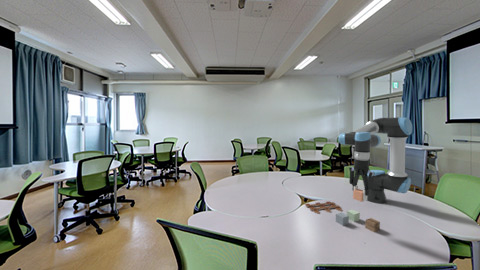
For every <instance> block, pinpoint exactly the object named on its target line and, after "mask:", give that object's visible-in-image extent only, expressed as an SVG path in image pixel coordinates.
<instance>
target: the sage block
mask: <svg viewBox="0 0 480 270" xmlns="http://www.w3.org/2000/svg"><path fill="white" fill-rule="evenodd" d="M346 215H348V216H349V220H350V221H351V222H353V223H355V222H356V223H357V222H359V221H360V220H361V219H360V216H361V213H360V212H359V211H356V210H355V209H349V210H347V211H346Z"/></svg>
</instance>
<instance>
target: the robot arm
mask: <svg viewBox="0 0 480 270" xmlns="http://www.w3.org/2000/svg"><path fill="white" fill-rule="evenodd" d="M378 134H383V135H384V134H386V137H387V138H388V139H389V170H388V171H387V172H386V171H385V170H382V169H381V170H380V169H370V163H371V162H370V157H371V155H370V154H371V148H376V147H378V146H379V145H380V144H381V143H382V140H381V137H380V136H379V135H378ZM411 134H413V124H412V121H411V119H410V118H408V117H401V116H400V117H397V116H396V117H379V118H375V119H372V120H370V121H367V122H366V123H365V125H363V126H360V127H358V128H356V129H354V130H352V131H350V132H344V133H343V132H342V133H339V136H338V138H337V139H338V143H339V144H340V145H344V146H354V153H353V154H354V156H353V157H354V159H353V165H354V166H351V167H349V168H348V169H349V182H348V183H349V184H350V185H351V186H352V191H353V190H357V189H359V186H358V183H359V179H360V177H361V178H362V182H363V187H364V188H363V189H362V190H363V201H362V202H366V201H368V202H372V203H375V204H385V203H387V195H386V193H385V190H387V191H391V192H395V193H398V194H399V193H400V194H407V193H408V192H409V190H410V188H411V185H412V179H411V178H410V177H409V175H408V173H407V172H406V140H407V138H409V136H410V135H411Z"/></svg>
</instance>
